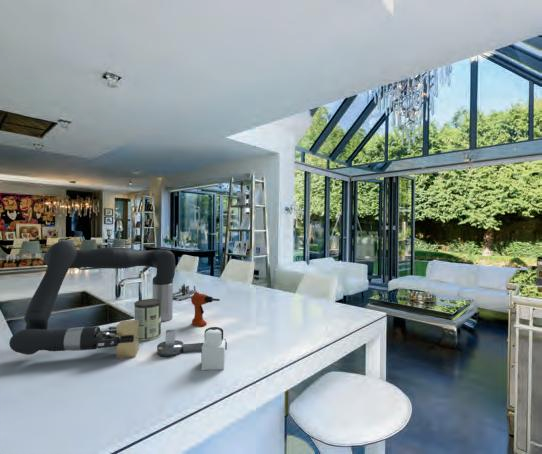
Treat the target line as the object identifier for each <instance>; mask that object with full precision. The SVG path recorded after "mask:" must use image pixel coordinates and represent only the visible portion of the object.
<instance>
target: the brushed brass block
mask: <svg viewBox="0 0 542 454" xmlns="http://www.w3.org/2000/svg"><path fill="white" fill-rule="evenodd" d="M116 327H117V336H121V337H122V336H128V335H133V336H134V341H133V342H129V343H121V344H118V346H116V347H115V348H116V354H115V355H116V357H115V358H116V359H125V358H126V359H127V358H135V357H136V356H137V354H138V352H139V350H140V349H139V346H140V345H139V344H140V343H139V341H140V340H139V320H135V319H132V320H120V321H119V322H118V324H117V325H116Z"/></svg>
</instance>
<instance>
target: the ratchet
mask: <svg viewBox="0 0 542 454" xmlns="http://www.w3.org/2000/svg"><path fill="white" fill-rule="evenodd" d="M223 340H225V351H226V350H228V347H227V346H228V345H227V344H228V343H227V338H223ZM203 343H204V342H195V343H184V342H183V341H182V340H178V339H177V340H176V329H166V331H165V341H161V342H159V343H158V344H157V345H156V355H157V356H158V357H161V358H171V357H172V356H173V357H176V355H177V356H179V355H181V354H182V353H191V352H192V353H194V351H195V352H201V350H202V346H203Z"/></svg>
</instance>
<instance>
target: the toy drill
mask: <svg viewBox="0 0 542 454" xmlns="http://www.w3.org/2000/svg"><path fill="white" fill-rule="evenodd" d="M190 301H191V304H192V306H194V317H193V318H192V320H191V325H192V326H195V327H198V328H199V327H200V328H202V327H205V326H207V324H208V322H207V321H206V320H204V316H203V314H204V313H205V311H204V309H203V305H206V304H208V303H212V302H219V301H221V300H220V298H214V297H212V296H209V295H207V294H205V293H199V292H198V291H197V292H196V293H195V294H192V295H191V297H190Z"/></svg>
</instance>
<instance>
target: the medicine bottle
mask: <svg viewBox="0 0 542 454" xmlns="http://www.w3.org/2000/svg"><path fill="white" fill-rule="evenodd" d="M223 339H224V329H223V328H221V327H219V326H210V327H208V328H206V329H205V330H204V340H203V342H202V343H203V346H202V350H201V351H200V352H201V362H200V363H201V364H200V367H201V371H219V370H221V371H223V370H224V369H225V364H226V350H225V340H223Z"/></svg>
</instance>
